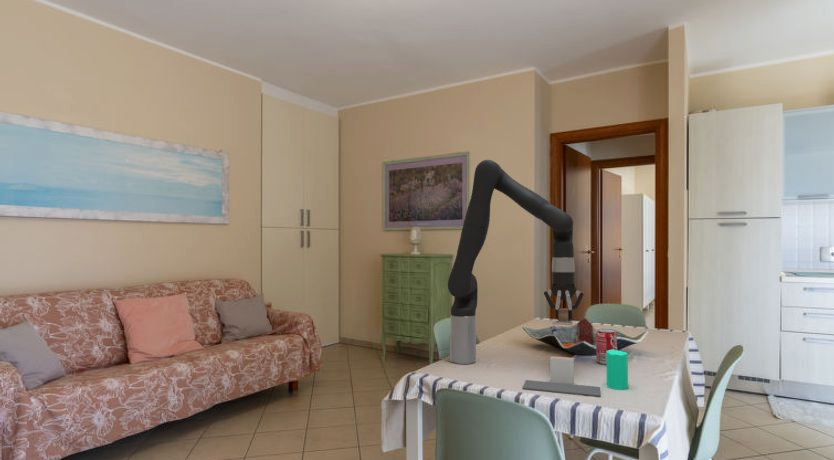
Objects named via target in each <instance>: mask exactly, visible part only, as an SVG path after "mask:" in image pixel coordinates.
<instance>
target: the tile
mask: <svg viewBox="0 0 834 460" xmlns="http://www.w3.org/2000/svg"><path fill="white" fill-rule="evenodd" d="M549 357H550V359H549V361H550V362H549V364H550V365H549V367H550V368H549V370H550V373H549V374H550V378H549V379H550V382H553V383H564V384H574V385H575V357H565V356H551V355H550V356H549Z"/></svg>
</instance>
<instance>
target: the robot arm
mask: <svg viewBox="0 0 834 460" xmlns="http://www.w3.org/2000/svg"><path fill="white" fill-rule="evenodd" d="M494 190H496V191H498V192H500V193H502V194H503V195H505V196H506V197H508V198H509V199H511V200H512V201H513V202H514V203H515V204H517V205H518V206H520V207H521V208H522V209H523V210H525V212H527V213H529V215H532V216H533V217H535V218H536V219H538V220H540V221H542V222H543V223H545V224H546V225H547V226H548V227H550V228H551V229H552V240H553V241H552V262H551V287H550V289H548V290H544V292H543V294H544V297H545V299H546V301H547V303H548V305H549V307H550V308H551V309H554V310H555V311H554V312H555V319H557V320H558V310H559V309H560V307H561V306H560V305H561V301H564V300H565V301H566V302H567V303H566V304H567V307H568V308H567V309H568V321H570V322H571V320H573V310H575V309H578V307H579V305H580V303H581V300H583V297H584V291H581V290H577V287H576V282H575V281H576V275H575V274H576V272H575V270H576V268H575V256H574V243H573V237H574V236H573V235H574V234H573V233H574V231H573V230H574V220H573V217H571V215H570V214H568V213H567V212H565V211H563V210H562V209H560V208H559V207H557V206H555V205H553V204H552V203H550V202H549V201H548V200H547V199H545V198H544V197H542V196H541V195H539V194H538V193H537V192H535V191H533V190H531V189H530V188H528V187H526V186H525V185H522V184H521V183H519V182H518V181H517V180H515V179H514V178H512V177H511V176H510V175H509V174H508V173H507V172H506V171H505V170H504V169H503V167H501V165H500V164H498V163H497V162H496V161H494V160H492V159H484V160H482V161H480V162H479V163H478V164H477V165H476V167H475V170H474V174H473V184H472V192H471V196H470V199H469V203H468V206H467V209H466V213H465V216H464V219H463V224H462V229H461V232H460V233H461V234H460V238H459V242H458V246H457V251H456V256H455V260H454V263H453V266H452V268H451V271H450V274H449V276H448V280H447V290H448V292H449V295H451V296H453V297H454V299H453V304H452V305H451V308H450V335H449V337H448V339H449V341H448V343H449V345H448V346H449V354H448V355H449V359H448V360H449V362H450V363H453V364H459V365H469V364H471V365H472V364H475V362H477V344H476V343H477V342H476V341H477V340H476V339H477V334H476V333H477V332H476V330H477V327H476V325H477V323H476V314H477V313H476V311H477V308H478V292H479V290H478V280H477V277H476V276H475V274H474V273H473V270H474V269H473V268H474V265H475V262H476V260H477V257H478V255H479V254H480V252H481V250H482V248H483V246H484V245H485V241H486V238H487V235H488V231H489V228H490V220H491V219H490V218H491V202H492V197H493V194H494ZM552 294H553V296H554V297H555V299H556V300H555V303H554V301H553V299H552V297H551V296H552ZM575 294H576V301H575V303H574V304H572V298H573V296H574V295H575Z"/></svg>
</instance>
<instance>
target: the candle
mask: <svg viewBox="0 0 834 460" xmlns="http://www.w3.org/2000/svg"><path fill="white" fill-rule="evenodd" d="M628 356H629V355H628V353H627V352H625V351H621V350H618V349H617V350H608V351H606V365H605V366H606V386H607V388H610V389H613V390H619V391H620V390H621V391H622V390H623V391H624V390H627V389H629V372H628V371H629V368H628V367H629V365H628V363H629V360H628V359H629V357H628Z"/></svg>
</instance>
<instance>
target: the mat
mask: <svg viewBox="0 0 834 460" xmlns="http://www.w3.org/2000/svg"><path fill="white" fill-rule="evenodd" d="M522 390H524V391H525V390H527V391H535V392H536V391H538V392H546V393H547V392H548V393H556V394H567V395H574V396H575V395H576V396H585V397H586V396H587V397H595V398H601V397H602V394H601V387H600V386H595V385H594V386H593V385H585V384H584V385H583V384H575V383H574V384H564V383H553V382H551V381H544V380H543V381H541V380H529V379H525V381H524V383H523V385H522Z"/></svg>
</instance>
